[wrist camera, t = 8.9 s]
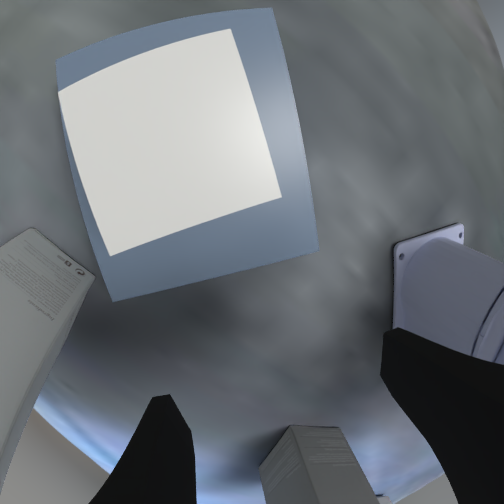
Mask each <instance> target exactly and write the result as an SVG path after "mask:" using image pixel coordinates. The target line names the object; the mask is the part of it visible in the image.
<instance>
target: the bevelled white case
mask: <svg viewBox="0 0 504 504" xmlns="http://www.w3.org/2000/svg"><path fill="white" fill-rule="evenodd" d="M376 497H377V499H378V501H379V503H380V504H392V502H391V500H390V499H389V497H388V496H376Z"/></svg>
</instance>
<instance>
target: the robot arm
mask: <svg viewBox="0 0 504 504" xmlns="http://www.w3.org/2000/svg"><path fill="white" fill-rule="evenodd" d="M463 240H464V226H463V224H461V223H457V224H454V225H451V226H448V227H445V228H442V229H439V230H436V231H433V232H430V233H427V234H424V235H421V236H418V237H415V238H412V239H409V240H405V241H402V242H399V243H397V244H396V245H395V247H394V310H393V329H392V330H390V331H387V332H385V333H384V335H383V350H382V362H381V372H380V376H381V378H382V379H383V381H384V383H385V385H386V386H387V388H388V390H389V392H390V393H391V395H392V397H393V398H394V399H395V401H396V402H397V403H398V404H399V406H400V407H401V408H402V410H403V411H404V412H405V413H406V415H407V416H408V417H409V418H410V420H411V421H412V422H413V424H414V425H415V426H416V427H417V429H418V430H419V431H420V432H421V434H422V435H423V436H424V438H425V439H426V440H427V442H428V443H429V445H430V446H431V448H432V450H433V452H434V453H435V455H436V457H437V459H438V460H439V462H440V464H441V466H442V468H443V470H444V472H445V474H446V476H447V478H448V480H449V482H450V484H451V486H452V489H453V491H454V493H455V496H456V498H457V501H458V504H504V263H502V262H500V261H498V260H496V259H494V258H492V257H489V256H487V255H485V254H483V253H481V252H478V251H476V250H474V249H472V248H469V247H467V246H465V245H463ZM400 254H401V257H400V258H399V256H400ZM89 504H197V501H196V473H195V454H194V447H193V440H192V434H191V430H190V428H189V427H188V425H187V423H186V422H185V420H184V418H183V416H182V415H181V413H180V411H179V409H178V408H177V406H176V404H175V402H174V400H173V399H172V397H171V395H170V394H169V395H163V396H156V397H152V399H151V401H150V403H149V405H148V407H147V409H146V411H145V413H144V415H143V417H142V419H141V421H140V423H139V425H138V427H137V429H136V431H135V433H134V434H133V436H132V438H131V440H130V442H129V444H128V446H127V447H126V449H125V451H124V453H123V455H122V456H121V458H120V460H119V461H118V463H117V465H116V466H115V468H114V470H113V471H112V473H111V474H110V476H109V477H108V479H107V480H106V482H105V483H104V485H103V486H102V487H101V489H100V490H99V492H98V493H97V494H96V495H95V497H94V498H93V499H92V500H91V501H90V503H89Z"/></svg>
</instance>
